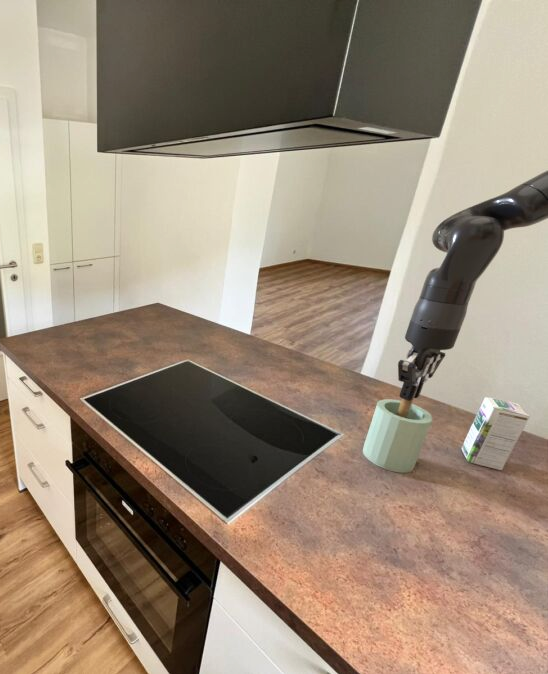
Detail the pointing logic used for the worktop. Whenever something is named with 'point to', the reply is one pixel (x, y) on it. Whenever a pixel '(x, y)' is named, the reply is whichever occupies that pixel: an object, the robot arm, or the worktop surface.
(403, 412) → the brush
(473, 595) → the worktop surface
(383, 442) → the mint green cup
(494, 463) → the syrup box
